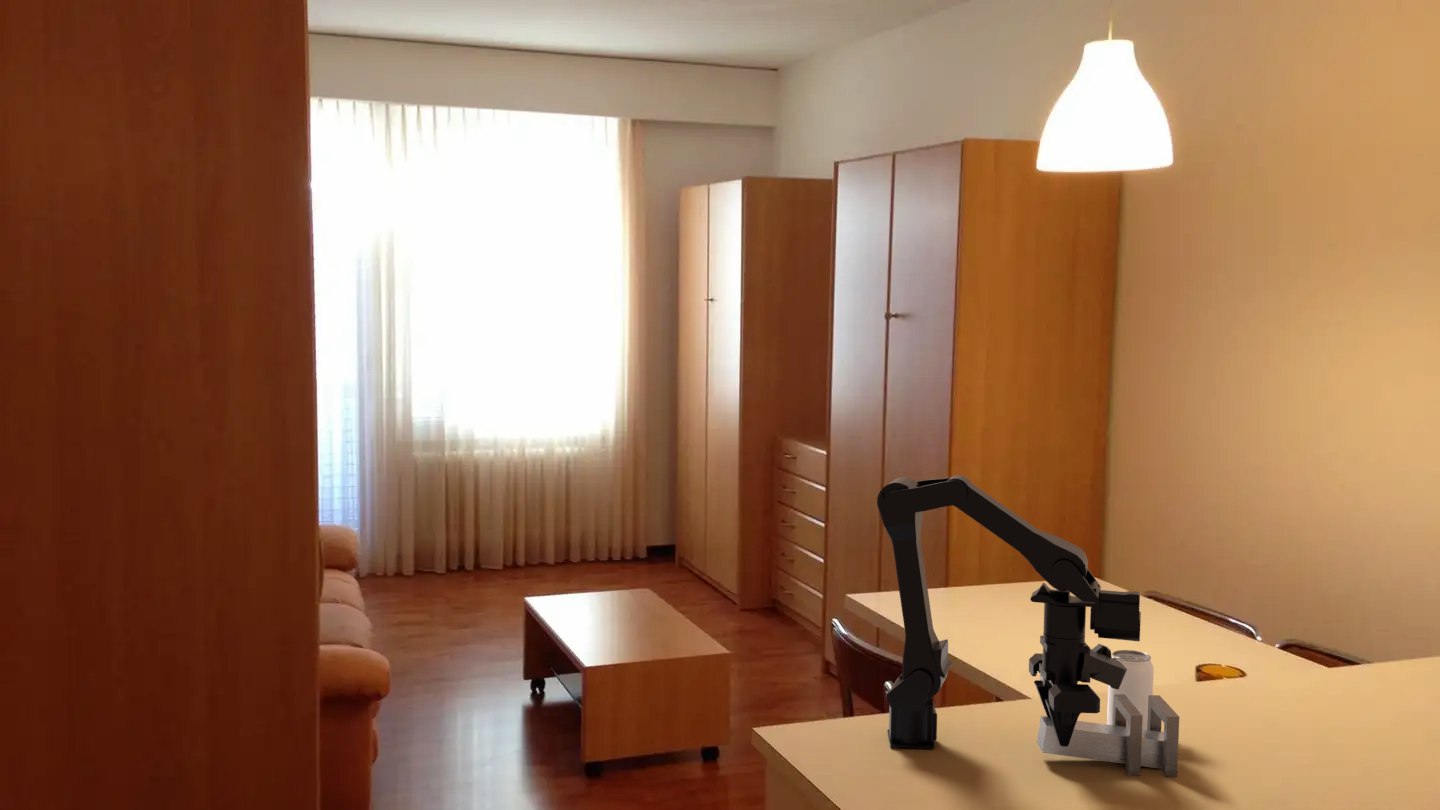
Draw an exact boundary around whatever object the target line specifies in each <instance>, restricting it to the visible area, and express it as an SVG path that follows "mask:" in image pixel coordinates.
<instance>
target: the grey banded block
mask: <svg viewBox="0 0 1440 810" xmlns="http://www.w3.org/2000/svg"><path fill="white" fill-rule="evenodd" d="M1039 718H1040V719H1039V725H1038V731H1037V733H1038V734H1037V740H1036V743H1037V745H1038V747H1039V749H1040V751H1041V752H1042V753H1043V754H1049V755H1058V756H1065V757H1073V758H1079V759H1084V760H1085V759H1086V760H1087V759H1088V760H1093V761H1101V762H1108V763H1118V764H1122V765H1124V764H1125V765H1126V758H1127V731H1128V727H1121V726H1113V725H1107V723H1105V724H1104V723H1099V722H1098V723H1097V722H1090V721H1083V720H1077V722H1076V725H1075V728H1074V731H1073V734H1072V737H1071V740H1070V743H1069V745H1068V746H1060V743H1059V741H1058V738H1057V735H1056V732H1055V729H1054V726H1053V723H1052V720H1051V717H1047V715H1046V716H1044V715H1040V717H1039ZM1163 743H1164V731H1161V732H1158V731H1151V730H1143V729H1142V743H1141V767H1147V768H1151V769H1154V768H1155V769H1160V770H1162V768H1163Z"/></svg>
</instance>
